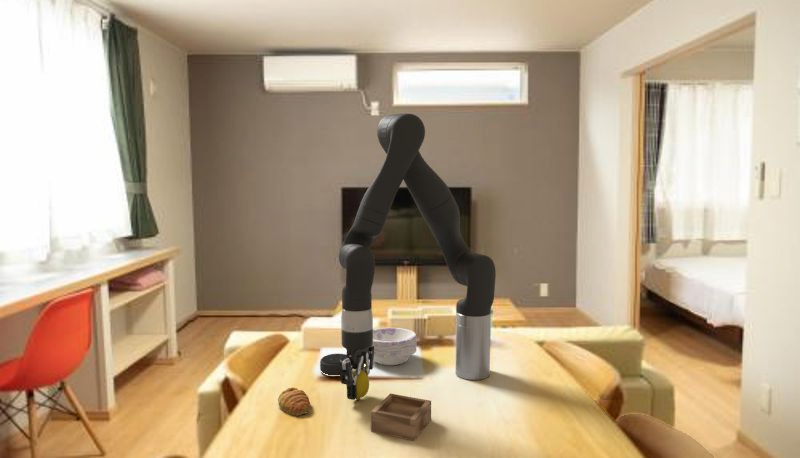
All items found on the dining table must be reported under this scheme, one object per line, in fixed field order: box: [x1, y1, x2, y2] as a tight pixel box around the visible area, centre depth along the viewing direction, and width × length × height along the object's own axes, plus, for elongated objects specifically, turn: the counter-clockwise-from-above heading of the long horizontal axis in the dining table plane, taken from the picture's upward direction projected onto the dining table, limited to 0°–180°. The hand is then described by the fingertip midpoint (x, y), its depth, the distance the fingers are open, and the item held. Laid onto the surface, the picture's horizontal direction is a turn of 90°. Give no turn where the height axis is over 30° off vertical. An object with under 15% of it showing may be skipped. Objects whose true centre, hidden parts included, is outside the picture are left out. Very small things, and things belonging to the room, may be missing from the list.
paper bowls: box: [372, 327, 418, 366], centre depth 160 cm, size 15×15×8 cm
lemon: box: [345, 369, 370, 401], centre depth 133 cm, size 6×6×8 cm
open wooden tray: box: [370, 393, 432, 441], centre depth 120 cm, size 10×10×4 cm
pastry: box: [277, 387, 311, 417], centre depth 129 cm, size 9×7×4 cm
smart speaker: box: [319, 353, 353, 375], centre depth 152 cm, size 9×9×4 cm
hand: (357, 393), depth 134 cm, fingers closed on lemon, 5 cm apart
